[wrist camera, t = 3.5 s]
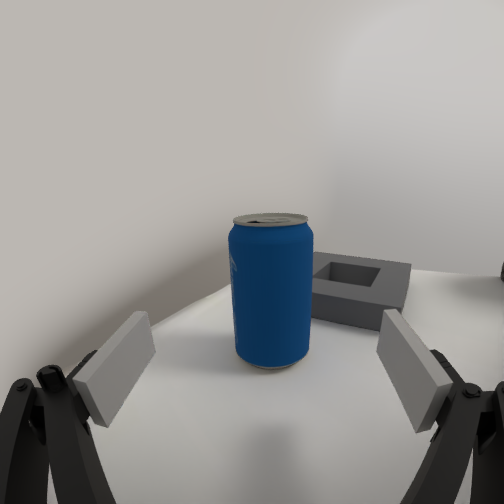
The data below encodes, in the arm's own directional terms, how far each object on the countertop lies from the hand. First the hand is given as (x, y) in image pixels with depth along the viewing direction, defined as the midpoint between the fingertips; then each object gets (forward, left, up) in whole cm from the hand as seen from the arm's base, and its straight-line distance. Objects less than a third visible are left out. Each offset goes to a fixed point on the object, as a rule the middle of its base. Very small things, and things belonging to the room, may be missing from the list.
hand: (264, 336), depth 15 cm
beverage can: (+4, -7, -7) cm, 11 cm away
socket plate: (+2, -23, -7) cm, 24 cm away
